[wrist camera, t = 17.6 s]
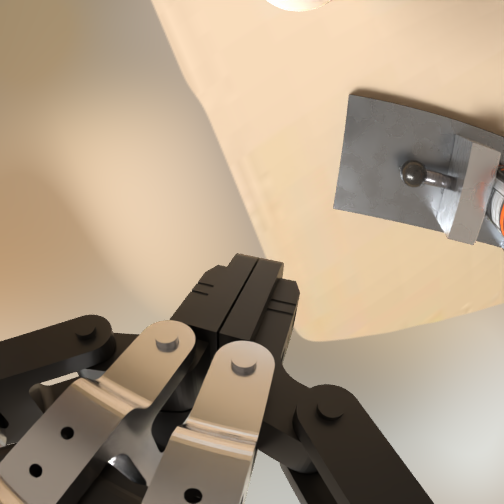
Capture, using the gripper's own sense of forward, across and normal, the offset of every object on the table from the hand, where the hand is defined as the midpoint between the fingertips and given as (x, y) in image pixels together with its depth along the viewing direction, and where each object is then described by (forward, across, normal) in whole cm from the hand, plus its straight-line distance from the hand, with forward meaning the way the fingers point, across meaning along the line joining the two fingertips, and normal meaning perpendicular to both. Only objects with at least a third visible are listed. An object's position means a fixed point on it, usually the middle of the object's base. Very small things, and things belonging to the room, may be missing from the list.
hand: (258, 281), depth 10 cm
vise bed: (+25, -14, 0) cm, 29 cm away
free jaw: (+23, -12, 0) cm, 26 cm away
